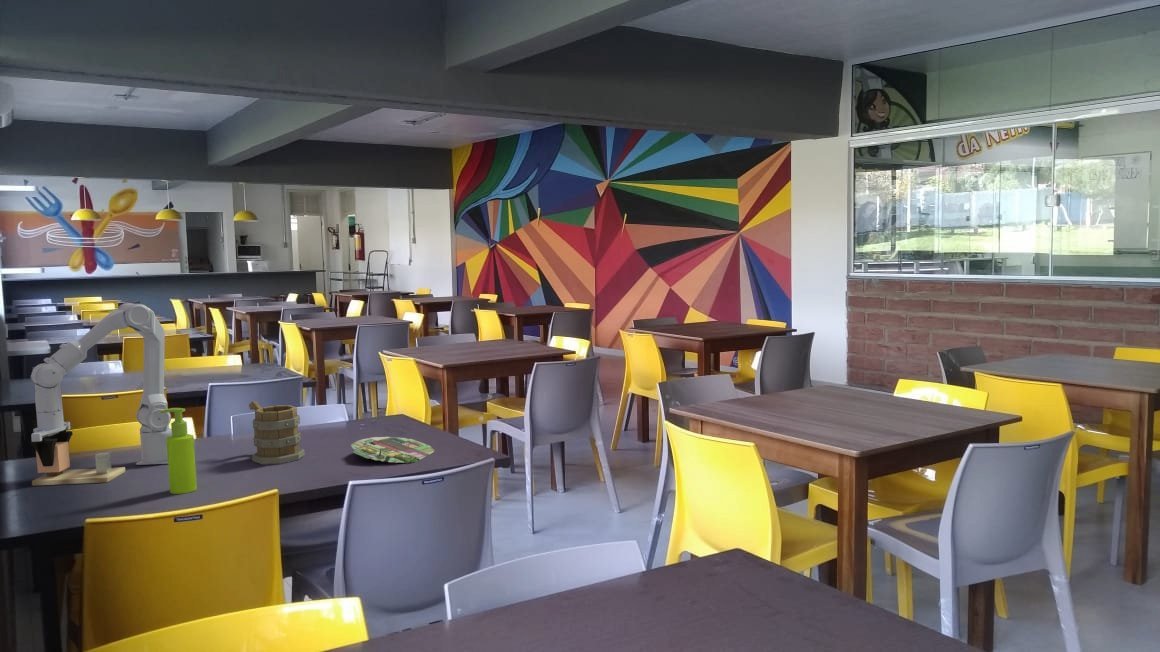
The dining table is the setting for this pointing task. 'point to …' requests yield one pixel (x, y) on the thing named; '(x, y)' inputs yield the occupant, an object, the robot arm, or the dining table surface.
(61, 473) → the walnut post
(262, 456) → the tankard
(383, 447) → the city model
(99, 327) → the robot arm
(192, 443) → the soap dispenser
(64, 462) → the tan cardboard box
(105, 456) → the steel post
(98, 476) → the birch board
